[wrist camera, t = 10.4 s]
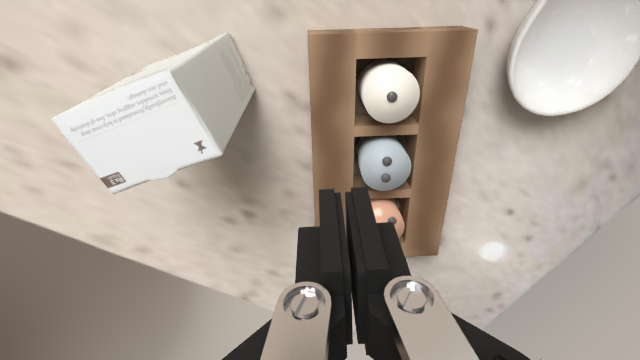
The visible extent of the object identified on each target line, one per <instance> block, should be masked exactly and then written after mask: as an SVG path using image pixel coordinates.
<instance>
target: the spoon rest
mask: <svg viewBox="0 0 640 360" xmlns="http://www.w3.org/2000/svg"><path fill="white" fill-rule="evenodd" d="M639 59H640V0H537V1H536V3H535V4H534V5H533V7H532V8H531V9H530V11H529V12H528V14H527V15H526V16H525V18H524V19H523V21H522V23H521V24H520V26H519V28H518V30H517V32H516V34H515V36H514V38H513V41H512V43H511V46H510V49H509V53H508V58H507V79H508V84H509V88H510V90H511V93H512V95H513V97H514V98H515V100H516V101H517V102H518V104H520V105H521V106H522V107H523V108H524V109H526V110H527V111H529V112H531V113H534V114H537V115H542V116H558V115H565V114H570V113H574V112H577V111H580V110H582V109H585V108H587V107H589V106H591V105H593V104H595V103H597V102H598V101H600V100H602V99H603V98H605V97H606V96H607V95H609V94H610V93H611V92H612V91H613V90H614V89H616V88H617V87H618V86H619V85H620V84H621V83H622V82H623V81H624V80H625V78H626V77H627V76H628V75H629V74H630V72H631V71H632V70H633V68H634V67H635V65H636V64H637V62H638V61H639Z"/></svg>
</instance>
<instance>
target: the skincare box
mask: <svg viewBox="0 0 640 360" xmlns="http://www.w3.org/2000/svg"><path fill="white" fill-rule="evenodd" d="M254 91H255V88H254V85H253V83H252V81H251V79H250V77H249V75H248V72H247V70H246V68H245V66H244V64H243V62H242V60H241V57H240V55H239V53H238V51H237V49H236V47H235V45H234V43H233V41H232V38H231V36H230V34H229V33H228V32H226V33H223V34H221V35H219V36H218V37H216V38H214V39H212V40H210V41H208V42H205V43H203V44H201V45H199V46H197V47H194V48H192V49H190V50H187V51H185V52H182V53H180V54H177V55H174V56H172V57H169V58H166V59H163V60H160V61H157V62H154V63H152V64H150V65H148V66H146V67H145V68H143V69H141V70H139V71H137V72H136V73H134V74H132V75H130V76H128V77H126V78H125V79H123V80H121V81H119V82H117V83H115V84H114V85H112V86H110V87H108V88H107V89H105V90H103V91H101V92H99V93H98V94H96V95H95V96H93V97H91V98H90V99H88V100H86V101H84V102H82V103H80V104H78V105H76V106H74V107H72V108H71V109H69V110H67V111H65V112H63V113H61V114H59V115H57V116H55V117H53V118H52V121H53V123H54V124H55V125H56V126H57V128H58V129H59V130H60V132H61V133H62V134H63V135H64V136H65V138H66V139H67V140H68V141H69V142H70V144H71V145H72V146H73V147H74V148H75V149H76V151H77V152H78V153H79V154H80V155H81V157H82V158H83V159H84V160H85V162H86V163H87V164H88V165H89V166H90V167H91V169H92V170H93V171H94V172H95V174H96V175H97V176H98V177H99V178H100V179H101V180H102V182H103V183H104V184H105V185H106V186H107V188H108V189H109V190H110V191H111V193H113V194H116V193H118V192H121V191H124V190H126V189H129V188H131V187H134V186H136V185H139V184H142V183H145V182H147V181H150V180H159V179H163V178H166V177H169V176H171V175H172V174H174V173H175V172H176V171H177V170H180V169H183V168H186V167H188V166H191V165H194V164H197V163H200V162H204V161H207V160H211V159H215V158H218V157H221V156H222V155H223V152H224V150H225V148H226V146H227V144H228V142H229V140H230V138H231V136H232V134H233V132H234V130H235V128H236V126H237V125H238V123H239V121H240V119H241V117H242V115H243V113H244V111H245V109H246V107H247V105H248V103H249V101H250V99H251V97H252V95H253V93H254Z"/></svg>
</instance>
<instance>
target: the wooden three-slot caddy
mask: <svg viewBox="0 0 640 360" xmlns="http://www.w3.org/2000/svg"><path fill="white" fill-rule="evenodd" d="M477 33H478V30H477V29H472V28H468V27H463V26H446V27H412V28H379V29H346V30H312V31H308V50H309V76H310V103H311V129H312V155H313V181H314V208H315V227H317V226H320V216H319V189H334V192H335V193H337V192H340V193H341V200H342V207H343V215H344V223H345V230H346V205H345V192H351V187H367V189H368V193H369V196H370V199H385V198H400V205H399V211H400V213H401V216H402V218H403V221H404V225H405V226H404V231H403V234H402V235H401V237H400V238H399V241H400V244H401V247H402V250H403V253H404V256H429V255H438V249H439V244H440V238H441V233H442V227H443V222H444V216H445V211H446V205H447V199H448V194H449V188H450V183H451V177H452V172H453V166H454V161H455V155H456V150H457V144H458V138H459V133H460V127H461V122H462V116H463V111H464V105H465V100H466V94H467V89H468V83H469V77H470V72H471V66H472V61H473V55H474V50H475V44H476V39H477ZM404 57H415V59H414V68H413V76H414V77H415V78H416V80H417V82H418V85H419V89H420V96H419V101H418V104H417V106H416V108H415V109H414V111H413V112H412V113H411V114H410V115H409V116H408V117H406V118H405V119H403V120H401V121H399V122H395V123H382V122H379V121H377V120H375V119H374V118H373V117H371V116H370V114H358V115H355V89H356V59H372V58H404ZM387 135H407V137H406V146H405V151H406V153H407V154H408V156H409V158H410V161H411V172H410V175H409V177H408V178H407V180H406V181H405V182H404V183H403V184H402V185H400V186H399V187H397V188H395V189H392V190H389V191H379V190H375V189H373V188H371V187H369V186H368V185H367V184H366V183H365V182H364V180H363V178H362V175H353V169H354V137H359V136H387Z"/></svg>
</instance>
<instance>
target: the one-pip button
mask: <svg viewBox="0 0 640 360" xmlns="http://www.w3.org/2000/svg"><path fill="white" fill-rule="evenodd" d="M357 89H358V93H359V96H360V98H361V100H362V102H363V104H364V106H365V108H366V110H367V112H368V113H369V114H370V116H371V117H373V118H374V119H375V120H377V121H379V122H382V123H395V122H399V121H401V120H403V119H405V118H406V117H408V116H409V115H410V114H411V113H412V112H413V111H414V109H415V108H416V106H417V104H418V101H419V96H420V89H419V85H418V82H417V80H416V78H415V77H414V76H413V75H412V74H411V73H410V72H409V71H407V70H406V69H405V68H403V67H402V66H401V65H400V64H398V63H397V62H395V61H393V60H390V59H378V60H375V61H373V62H371V63H369V64H368V65H367V66H366V67H365V68H364V69H363V70H362V72H361V74H360V76H359V78H358V83H357Z"/></svg>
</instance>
